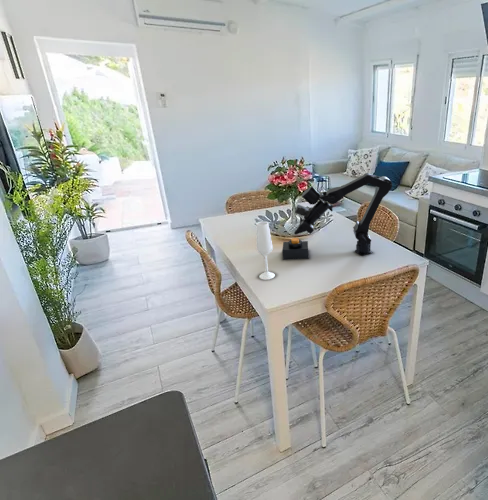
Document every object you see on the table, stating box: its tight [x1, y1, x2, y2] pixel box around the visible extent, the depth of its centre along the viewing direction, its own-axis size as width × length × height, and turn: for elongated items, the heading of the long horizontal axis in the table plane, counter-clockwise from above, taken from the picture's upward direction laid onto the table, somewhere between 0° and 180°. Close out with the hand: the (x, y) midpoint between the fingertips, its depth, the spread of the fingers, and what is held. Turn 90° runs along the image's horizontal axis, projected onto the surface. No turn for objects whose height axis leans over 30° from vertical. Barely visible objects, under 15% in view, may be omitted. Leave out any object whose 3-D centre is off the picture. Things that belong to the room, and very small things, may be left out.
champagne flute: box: [255, 220, 276, 280], centre depth 145 cm, size 7×7×24 cm
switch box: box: [281, 239, 310, 261], centre depth 169 cm, size 12×10×7 cm
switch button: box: [290, 237, 300, 244], centre depth 167 cm, size 4×4×2 cm
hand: (294, 233), depth 166 cm, fingers closed
